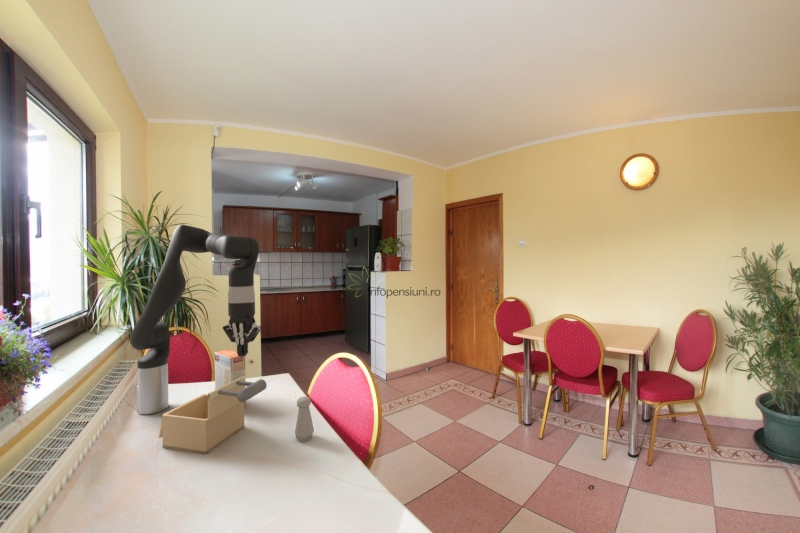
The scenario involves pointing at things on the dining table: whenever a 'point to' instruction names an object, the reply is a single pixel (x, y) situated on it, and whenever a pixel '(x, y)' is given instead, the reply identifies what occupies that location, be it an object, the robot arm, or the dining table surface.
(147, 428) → the dining table surface
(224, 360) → the cracker box
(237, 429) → the tan open box
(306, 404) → the salt shaker
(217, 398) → the door with pull handle
